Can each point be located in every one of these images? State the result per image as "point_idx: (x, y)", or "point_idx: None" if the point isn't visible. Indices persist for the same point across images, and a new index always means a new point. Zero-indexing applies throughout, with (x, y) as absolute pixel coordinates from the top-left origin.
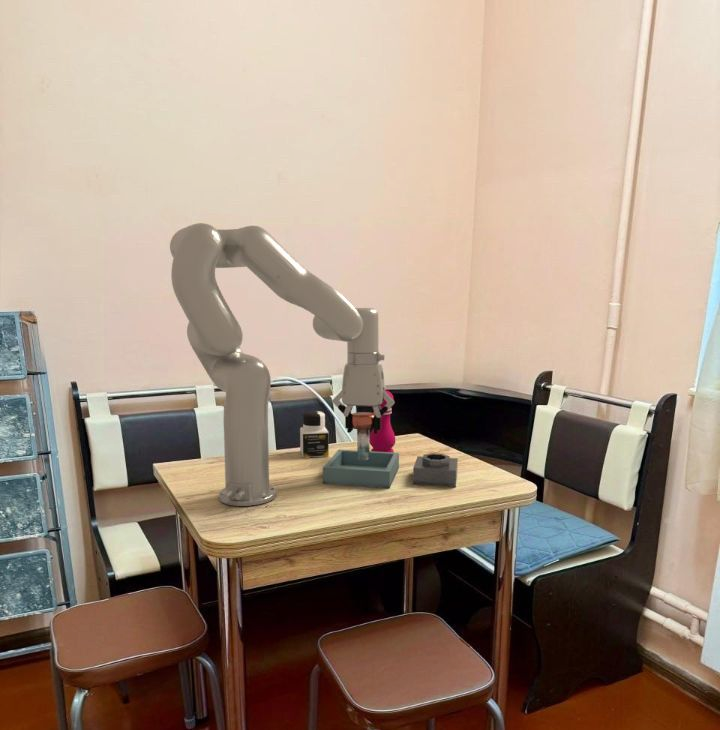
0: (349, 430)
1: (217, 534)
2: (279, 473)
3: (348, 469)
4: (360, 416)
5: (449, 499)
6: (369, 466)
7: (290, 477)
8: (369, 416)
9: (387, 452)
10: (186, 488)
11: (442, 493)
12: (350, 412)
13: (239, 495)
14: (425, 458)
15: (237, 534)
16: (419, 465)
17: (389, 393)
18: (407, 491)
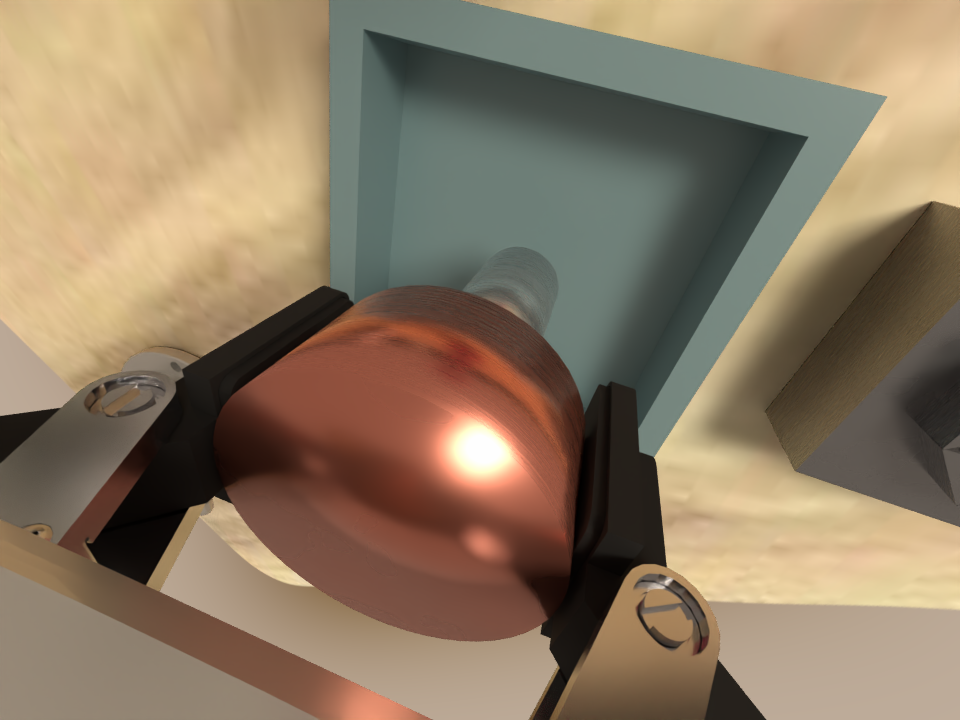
0: None
1: (254, 557)
2: (169, 195)
3: None
4: (357, 585)
5: (839, 570)
6: (587, 121)
7: (232, 255)
8: (468, 624)
9: (762, 81)
10: (31, 327)
11: (851, 523)
12: (178, 461)
13: (203, 512)
14: (957, 465)
15: (284, 566)
16: (867, 444)
17: None
18: (698, 474)
